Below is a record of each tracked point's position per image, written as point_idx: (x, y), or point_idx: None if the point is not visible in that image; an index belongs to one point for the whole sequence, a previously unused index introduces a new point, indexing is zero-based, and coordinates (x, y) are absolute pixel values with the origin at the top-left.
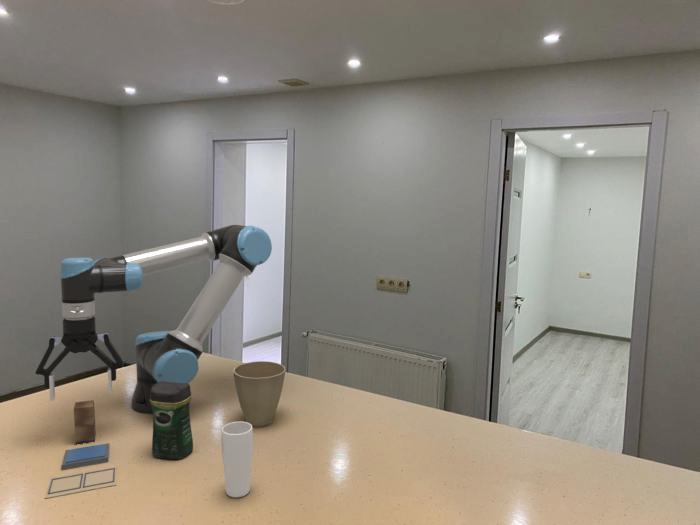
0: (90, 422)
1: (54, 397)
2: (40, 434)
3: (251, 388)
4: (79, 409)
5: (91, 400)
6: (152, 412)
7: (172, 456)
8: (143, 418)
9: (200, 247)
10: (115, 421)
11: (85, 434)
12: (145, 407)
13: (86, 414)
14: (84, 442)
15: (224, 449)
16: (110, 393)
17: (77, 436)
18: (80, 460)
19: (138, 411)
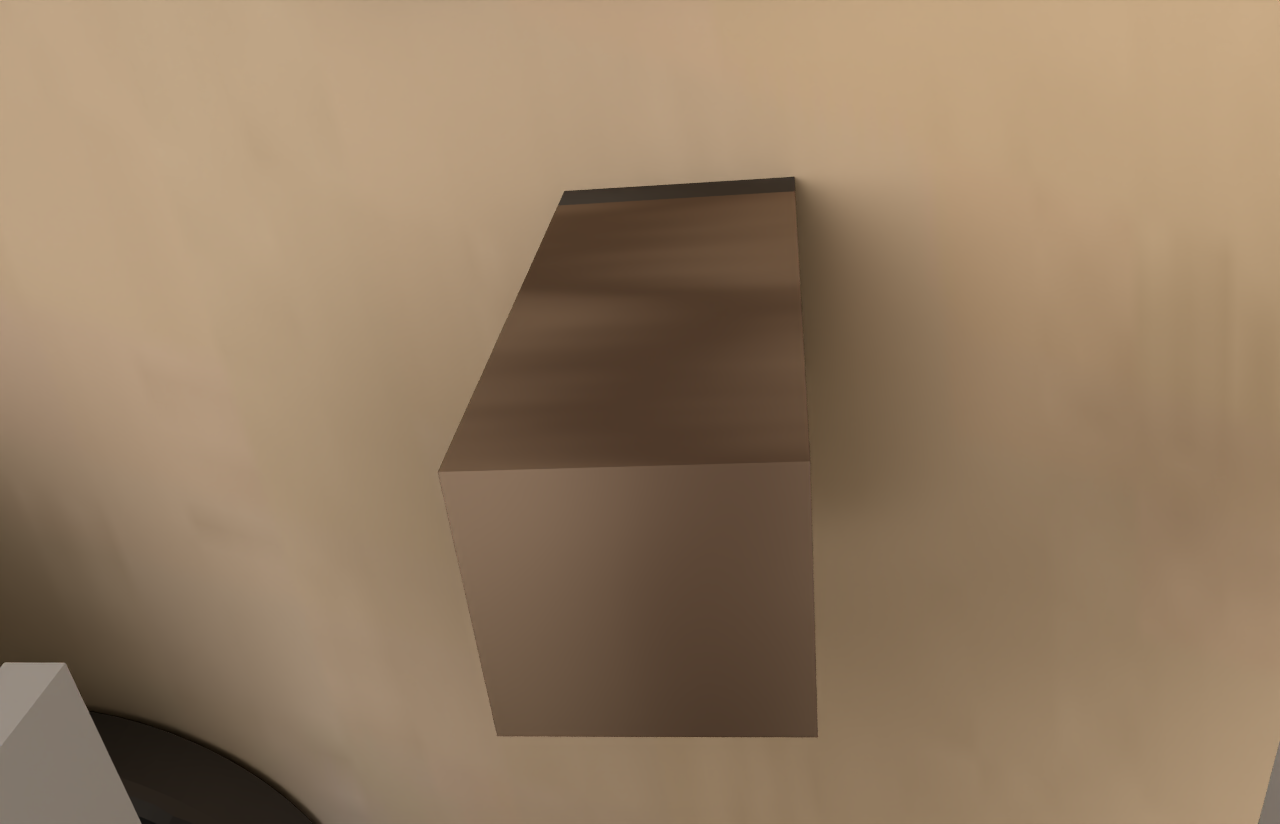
0: (555, 312)
1: (1267, 814)
2: (1226, 594)
3: None
4: (697, 446)
5: (538, 732)
6: (95, 713)
7: None
8: (157, 627)
9: None
10: (442, 648)
11: (658, 234)
12: (142, 779)
13: (588, 385)
14: (684, 190)
15: None
16: (19, 671)
17: (765, 224)
18: None
19: (253, 776)
